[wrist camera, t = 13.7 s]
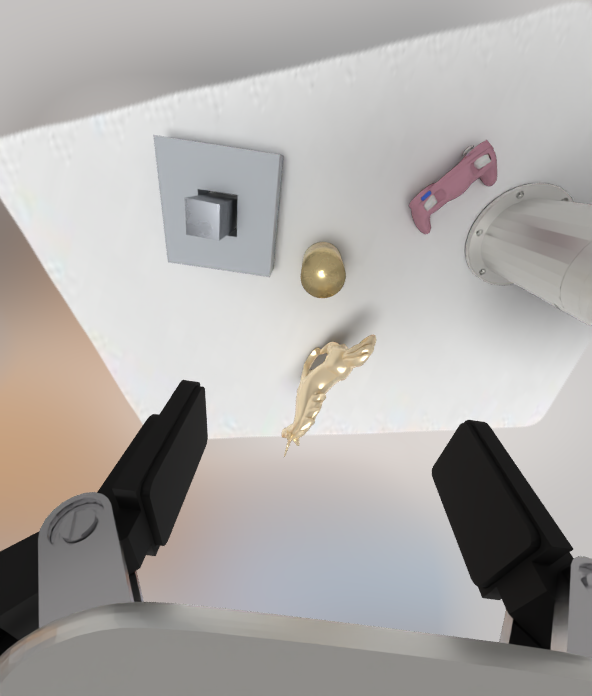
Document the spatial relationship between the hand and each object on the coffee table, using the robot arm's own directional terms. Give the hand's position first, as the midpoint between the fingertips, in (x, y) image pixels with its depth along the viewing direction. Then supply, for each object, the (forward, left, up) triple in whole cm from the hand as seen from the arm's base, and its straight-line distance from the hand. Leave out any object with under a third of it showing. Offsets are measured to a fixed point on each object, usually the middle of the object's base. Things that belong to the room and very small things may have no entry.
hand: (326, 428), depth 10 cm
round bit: (-1, +3, -34) cm, 34 cm away
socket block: (+13, -2, -34) cm, 37 cm away
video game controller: (-15, -8, -35) cm, 38 cm away
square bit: (+13, -2, -34) cm, 37 cm away
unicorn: (-4, +18, -34) cm, 39 cm away
